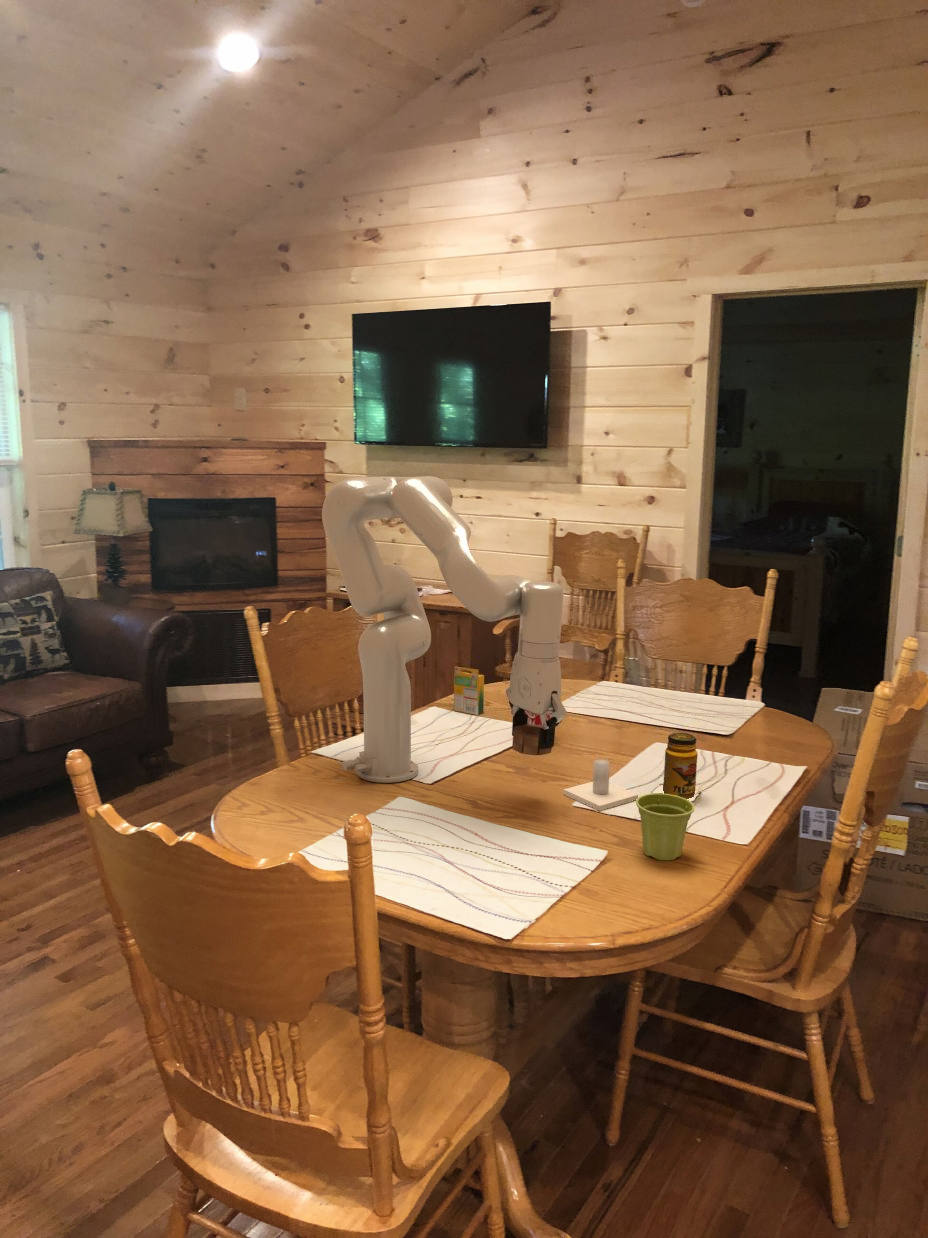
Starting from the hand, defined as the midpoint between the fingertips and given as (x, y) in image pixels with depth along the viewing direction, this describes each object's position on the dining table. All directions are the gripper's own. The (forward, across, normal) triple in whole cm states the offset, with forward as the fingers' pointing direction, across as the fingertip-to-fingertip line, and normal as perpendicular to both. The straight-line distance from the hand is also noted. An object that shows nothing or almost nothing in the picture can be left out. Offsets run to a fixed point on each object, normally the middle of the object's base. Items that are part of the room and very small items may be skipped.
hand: (532, 741), depth 172 cm
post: (+11, +6, +13) cm, 18 cm away
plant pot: (+11, +30, +4) cm, 32 cm away
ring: (+1, 0, 0) cm, 1 cm away
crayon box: (+14, -55, +26) cm, 62 cm away
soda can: (+13, -28, +26) cm, 40 cm away
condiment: (+11, +13, +26) cm, 31 cm away
